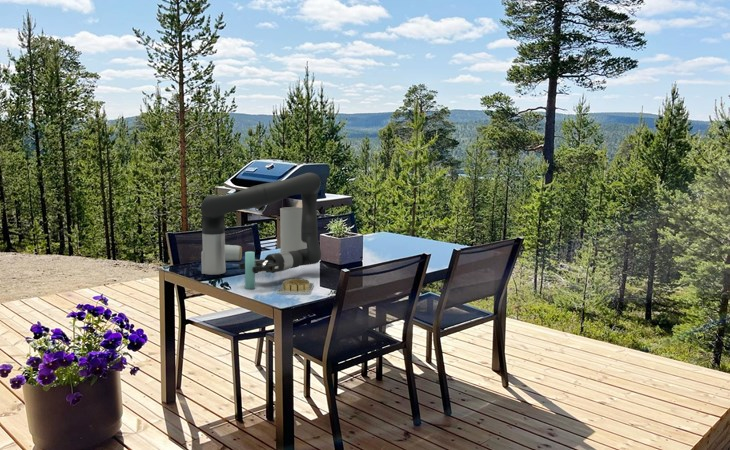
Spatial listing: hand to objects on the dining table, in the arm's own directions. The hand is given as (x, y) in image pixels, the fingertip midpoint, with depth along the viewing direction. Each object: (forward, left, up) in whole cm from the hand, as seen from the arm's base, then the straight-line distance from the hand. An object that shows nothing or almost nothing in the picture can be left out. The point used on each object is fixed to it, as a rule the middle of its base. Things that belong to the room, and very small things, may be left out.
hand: (246, 268), depth 208 cm
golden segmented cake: (+19, 0, -8) cm, 21 cm away
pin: (+1, +1, -8) cm, 8 cm away
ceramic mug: (-19, +52, -8) cm, 56 cm away
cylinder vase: (+10, +53, -8) cm, 55 cm away
